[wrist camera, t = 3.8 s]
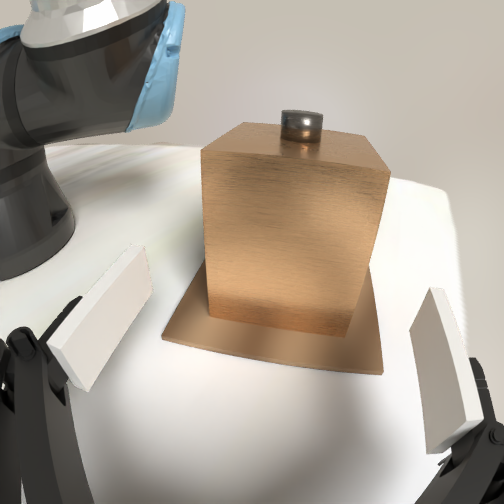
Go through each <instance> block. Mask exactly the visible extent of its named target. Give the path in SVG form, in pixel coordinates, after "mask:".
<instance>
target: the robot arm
mask: <svg viewBox="0 0 504 504" xmlns="http://www.w3.org/2000/svg"><path fill="white" fill-rule="evenodd" d="M30 4H31V7H32V10H31V14H30V16H29V17H28V19H27V21H26V23H25V25H14V26H9V27H5V28H2V29H0V281H1V280H5V279H9V278H12V277H15V276H17V275H20V274H22V273H24V272H27V271H29V270H31V269H32V268H34V267H36V266H38V265H39V264H41V263H43V262H44V261H46V260H47V259H49V258H50V257H51V256H53V255H54V254H55V253H56V252H57V251H59V250H60V249H61V248H62V247H63V246H64V245H65V244H66V242H67V241H68V240H69V239H70V237H71V236H72V234H73V231H74V228H75V223H74V219H73V215H72V210H71V207H70V204H69V203H68V201H67V199H66V198H65V196H64V194H63V192H62V191H61V189H60V187H59V186H58V184H57V182H56V180H55V178H54V177H53V175H52V173H51V171H50V169H49V167H48V165H47V161H46V155H45V149H44V145H47V144H51V143H56V142H62V141H67V140H73V139H78V138H85V137H91V136H98V135H105V134H113V133H121V132H125V133H126V132H131V131H132V130H134V129H140V128H146V127H153V126H157V125H160V124H162V123H163V122H165V121H166V120H167V119H168V118H169V117H170V115H171V113H172V110H173V106H174V98H175V91H176V82H177V73H178V65H179V52H180V47H181V40H182V33H183V26H184V18H185V6H184V5H183V4H181V3H176V2H173V1H171V2H169V3H167V0H30ZM152 293H153V286H152V282H151V277H150V272H149V267H148V261H147V256H146V251H145V246H140V245H134V244H131V245H130V246H129V247H128V248H127V249H126V250H125V251H124V252H123V254H122V255H121V256H120V257H119V258H118V259H117V260H116V261H115V262H114V263H113V264H112V265H111V266H110V268H109V269H108V270H107V271H106V272H105V273H104V274H103V275H102V276H101V278H100V279H99V280H98V281H97V282H96V283H95V284H94V285H93V287H92V288H91V289H90V290H89V291H88V292H87V293H86V295H85V296H84V297H82V296H78V297H77V298H75V299H74V300H72V301H71V302H69V303H68V305H67V306H66V307H65V308H64V309H63V312H61V313H60V314H59V315H58V316H57V318H56V319H55V320H54V321H53V322H52V324H51V325H50V326H49V327H48V329H47V330H46V331H45V332H44V333H43V335H42V336H41V337H40V338H39V340H37V339H36V337H35V335H34V334H33V332H32V331H31V329H30V328H28V327H19V328H17V329H15V330H13V331H12V332H11V333H10V334H9V336H8V337H7V340H6V344H7V345H8V347H7V345H6V344H5V342H4V341H3V340H2V339H0V504H21V477H22V483H23V488H24V493H25V498H26V502H27V504H94V501H93V498H92V495H91V492H90V489H89V485H88V482H87V478H86V475H85V471H84V468H83V464H82V460H81V456H80V452H79V447H78V443H77V438H76V434H75V429H74V423H73V418H72V412H71V406H70V399H69V392H68V387H67V384H66V382H67V380H68V379H70V380H71V382H72V383H73V385H74V386H75V387H78V388H80V389H82V390H84V391H86V392H89V390H90V389H91V387H92V385H93V384H94V382H95V380H96V379H97V377H98V376H99V374H100V372H101V371H102V369H103V367H104V366H105V364H106V363H107V361H108V360H109V358H110V356H111V355H112V353H113V352H114V350H115V348H116V347H117V345H118V344H119V342H120V341H121V339H122V338H123V336H124V335H125V333H126V331H127V330H128V328H129V327H130V325H131V324H132V322H133V321H134V319H135V318H136V316H137V315H138V313H139V312H140V310H141V309H142V307H143V306H144V304H145V303H146V301H147V300H148V299H149V297H150V296H151V294H152ZM409 332H410V337H411V341H412V346H413V352H414V357H415V363H416V368H417V374H418V381H419V387H420V394H421V402H422V410H423V419H424V429H425V441H426V454H437V453H443V452H445V451H446V450H447V449H449V448H450V447H451V451H452V453H451V454H450V455H449V456H447V457H446V458H444V459H443V460H442V461H440V462H439V463H438V465H439V466H440V465H441V464H443V463H444V464H443V465H442V467H441V468H440V470H439V471H438V473H437V474H436V476H435V477H434V478H433V480H432V481H431V483H430V484H429V485H428V487H427V488H426V489H425V491H424V492H423V493H422V495H421V496H420V497H419V498H418V500H417V501H416V502H415V504H504V426H503V424H501V423H499V422H497V421H496V418H495V414H494V409H493V406H492V401H491V397H490V393H489V390H488V389H487V387H488V386H487V382H486V380H485V375H484V372H483V369H482V367H481V365H480V364H479V362H478V361H477V360H476V358H468V355H467V352H466V348H465V345H464V342H463V339H462V336H461V333H460V330H459V328H458V325H457V322H456V319H455V317H454V314H453V311H452V309H451V306H450V304H449V301H448V298H447V296H446V294H445V291H444V289H440V288H432V287H430V288H429V290H428V292H427V294H426V297H425V299H424V301H423V303H422V305H421V307H420V310H419V312H418V314H417V316H416V318H415V320H414V322H413V324H412V326H411V328H410V330H409ZM2 383H4V384H5V388H4V390H2V388H1V387H2Z"/></svg>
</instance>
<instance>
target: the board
mask: <svg viewBox="0 0 504 504" xmlns="http://www.w3.org/2000/svg"><path fill="white" fill-rule="evenodd" d="M161 336H162V340H166V341H170V342H174V343H178V344H182V345H186V346H190V347H195V348H199V349H204V350H208V351H213V352H217V353H222V354H227V355H232V356H237V357H243V358H248V359H254V360H259V361H265V362H271V363H278V364H284V365H291V366H298V367H305V368H313V369H321V370H330V371H339V372H349V373H360V374H373V375H382V373H383V372H384V370H383V360H382V350H381V341H380V333H379V325H378V318H377V311H376V304H375V298H374V292H373V286H372V280H371V274H370V269H369V265H368V269H367V272H366V275H365V279H364V282H363V285H362V289H361V292H360V295H359V298H358V301H357V304H356V307H355V310H354V313H353V316H352V319H351V322H350V325H349V328H348V331H347V333H346V336H345V338H343V337H335V336H326V335H319V334H311V333H304V332H297V331H290V330H283V329H277V328H270V327H264V326H258V325H252V324H246V323H241V322H235V321H229V320H224V319H219V318H213V317H210V312H209V300H208V287H207V273H206V259H205V260H204V261H203V263H202V265H201V267H200V268H199V270H198V272H197V273H196V275H195V277H194V279H193V280H192V282H191V284H190V286H189V287H188V289H187V291H186V293H185V294H184V296H183V298H182V300H181V301H180V303H179V305H178V307H177V308H176V310H175V312H174V314H173V315H172V317H171V319H170V321H169V323H168V324H167V326H166V328H165V330H164V332H163V333H162V335H161Z"/></svg>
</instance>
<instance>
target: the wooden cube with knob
mask: <svg viewBox="0 0 504 504" xmlns="http://www.w3.org/2000/svg"><path fill="white" fill-rule="evenodd" d="M322 122H323V115H322V114H319V113H315V112H309V111H301V110H283V111H282V117H281V125H276V124H263V123H248V122H243V123H241V124H240V125H238V126H237V127H235V128H233V129H232V130H230V131H229V132H227V133H226V134H224V135H223V136H221V137H220V138H218V139H216V140H215V141H213V142H212V143H211V144H209V145H207V146H206V147H204V148H203V149H201V181H202V205H203V225H204V243H205V259H206V273H207V287H208V300H209V312H210V317H213V318H219V319H224V320H229V321H235V322H241V323H246V324H252V325H258V326H264V327H270V328H277V329H283V330H290V331H297V332H304V333H311V334H319V335H326V336H335V337H343V338H345V336H346V333H347V331H348V328H349V325H350V322H351V319H352V316H353V313H354V310H355V307H356V304H357V301H358V298H359V295H360V292H361V289H362V285H363V282H364V279H365V275H366V272H367V269H368V265H369V262H370V258H371V255H372V251H373V247H374V244H375V240H376V236H377V232H378V228H379V224H380V220H381V216H382V211H383V207H384V203H385V198H386V194H387V189H388V184H389V179H390V174H391V172H390V170H389V169H388V167H387V166H386V164H385V163H384V162H383V160H382V159H381V157H380V156H379V155H378V153H377V152H376V150H375V149H374V148H373V146H372V145H371V144H370V142H368V140H367V139H366V137H365V136H362V135H356V134H350V133H344V132H337V131H330V130H323V129H322Z"/></svg>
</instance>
